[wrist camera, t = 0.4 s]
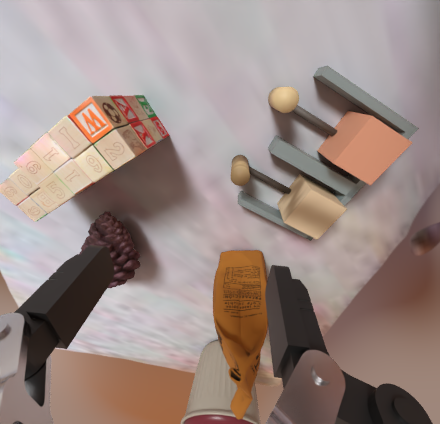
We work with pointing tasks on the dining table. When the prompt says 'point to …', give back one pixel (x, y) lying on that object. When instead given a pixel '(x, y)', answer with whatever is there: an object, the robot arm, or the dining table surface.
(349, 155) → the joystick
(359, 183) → the shelf rack
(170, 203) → the dining table surface
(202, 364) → the canister
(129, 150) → the stack of blocks
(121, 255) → the pine cone
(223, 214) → the dining table surface
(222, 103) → the dining table surface
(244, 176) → the birch block
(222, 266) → the coffee package
